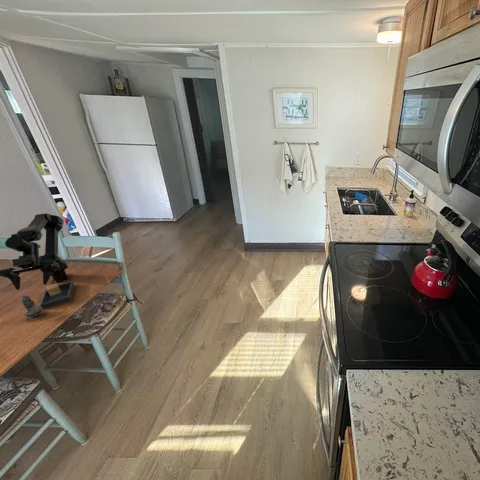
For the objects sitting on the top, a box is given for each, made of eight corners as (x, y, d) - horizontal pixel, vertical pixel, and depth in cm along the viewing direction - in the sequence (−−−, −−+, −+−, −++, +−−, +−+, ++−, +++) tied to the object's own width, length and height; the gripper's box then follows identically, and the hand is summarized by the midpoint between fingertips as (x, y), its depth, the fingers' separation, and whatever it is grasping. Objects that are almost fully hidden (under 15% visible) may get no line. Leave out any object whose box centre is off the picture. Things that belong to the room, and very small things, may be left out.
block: (50, 292, 133) (46, 286, 131) (60, 289, 135) (57, 283, 134) (50, 296, 130) (46, 290, 128) (61, 292, 133) (57, 286, 131)
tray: (49, 292, 134) (46, 288, 132) (74, 286, 139) (72, 281, 137) (43, 309, 123) (39, 304, 121) (71, 301, 128) (68, 296, 126)
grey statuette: (34, 322, 116) (20, 300, 110) (24, 320, 117) (9, 298, 111) (49, 313, 121) (36, 292, 115) (39, 311, 122) (25, 290, 116)
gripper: (-12, 254, 112) (-12, 289, 109) (45, 245, 120) (47, 278, 116) (7, 261, 122) (8, 293, 119) (59, 252, 130) (61, 283, 126)
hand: (31, 287), depth 119 cm, fingers open, 9 cm apart
